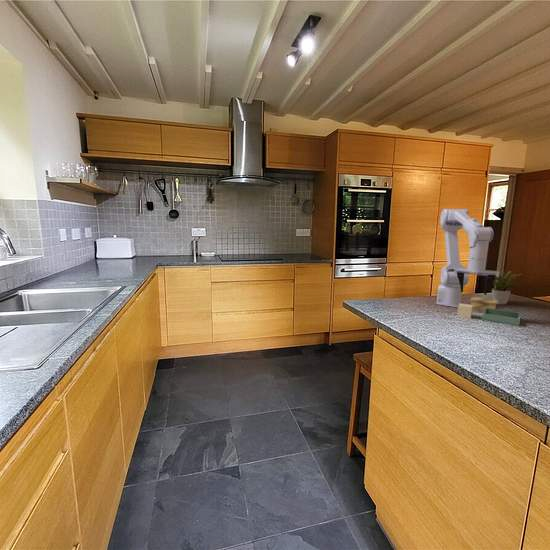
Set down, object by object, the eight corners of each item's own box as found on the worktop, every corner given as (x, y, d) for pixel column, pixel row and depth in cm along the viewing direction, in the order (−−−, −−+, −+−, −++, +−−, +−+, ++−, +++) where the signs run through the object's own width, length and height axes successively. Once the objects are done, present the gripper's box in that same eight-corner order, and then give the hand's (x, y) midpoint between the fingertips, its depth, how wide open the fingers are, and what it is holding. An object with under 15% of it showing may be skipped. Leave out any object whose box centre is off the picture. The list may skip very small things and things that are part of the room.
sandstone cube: (457, 316, 118) (458, 305, 118) (458, 313, 122) (460, 303, 121) (470, 318, 116) (471, 307, 115) (471, 316, 119) (473, 305, 118)
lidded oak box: (469, 310, 126) (470, 299, 125) (470, 307, 131) (472, 296, 130) (495, 314, 121) (496, 303, 120) (496, 311, 125) (497, 300, 124)
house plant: (516, 301, 144) (521, 267, 141) (526, 308, 131) (531, 271, 129) (481, 298, 150) (485, 265, 147) (487, 304, 137) (492, 269, 134)
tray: (482, 319, 114) (483, 313, 113) (484, 313, 122) (485, 307, 122) (519, 326, 107) (520, 319, 107) (518, 318, 116) (519, 312, 115)
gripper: (455, 258, 115) (451, 292, 118) (501, 261, 108) (496, 297, 110) (456, 256, 121) (452, 289, 124) (500, 259, 113) (495, 293, 116)
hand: (473, 292), depth 117 cm, fingers open, 7 cm apart
